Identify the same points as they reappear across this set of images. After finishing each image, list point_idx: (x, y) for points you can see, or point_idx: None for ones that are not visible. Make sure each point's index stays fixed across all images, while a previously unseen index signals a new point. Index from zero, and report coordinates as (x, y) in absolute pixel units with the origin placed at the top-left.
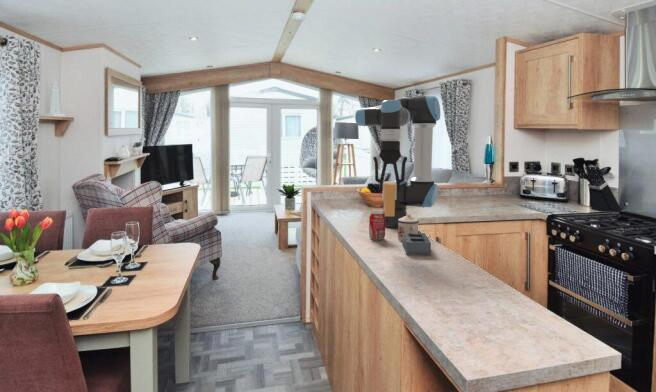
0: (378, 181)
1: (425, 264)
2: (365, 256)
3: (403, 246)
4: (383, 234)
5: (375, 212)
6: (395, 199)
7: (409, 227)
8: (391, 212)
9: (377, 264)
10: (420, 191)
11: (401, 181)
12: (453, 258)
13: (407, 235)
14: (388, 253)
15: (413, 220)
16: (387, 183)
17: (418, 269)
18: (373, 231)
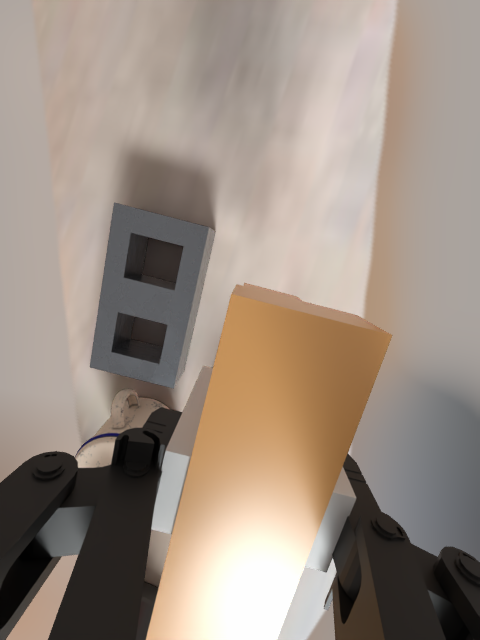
0: (422, 555)
1: (188, 98)
2: (360, 238)
3: (192, 333)
4: None
5: None
6: (210, 368)
7: (131, 425)
8: (262, 289)
9: (354, 126)
10: None
11: (79, 477)
12: (67, 161)
13: (168, 343)
14: (268, 264)
15: (99, 447)
16: (300, 469)
17: (234, 35)
18: None
